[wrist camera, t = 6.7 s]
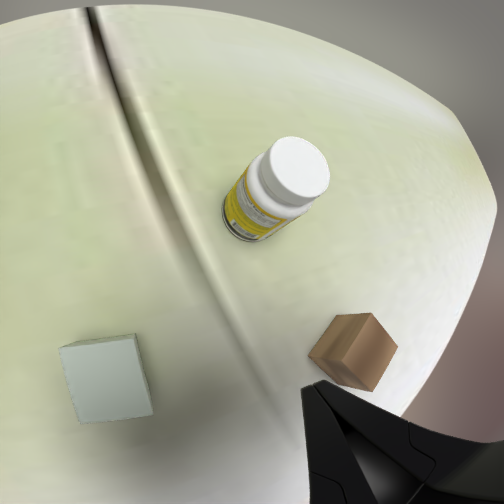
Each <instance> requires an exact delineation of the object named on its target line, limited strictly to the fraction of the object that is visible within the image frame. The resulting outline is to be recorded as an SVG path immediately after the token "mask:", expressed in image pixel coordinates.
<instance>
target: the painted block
mask: <svg viewBox="0 0 504 504" xmlns="http://www.w3.org/2000/svg"><path fill="white" fill-rule="evenodd" d="M59 353H60V357H61V362H62V366H63V370H64V374H65V378H66V381H67V385H68V388H69V392H70V395H71V398H72V402H73V405H74V408H75V411H76V414H77V417H78V419H79V422H80V424H88V423H99V422H108V421H116V420H124V419H131V418H138V417H144V416H150V415H153V408H152V401H151V395H150V391H149V387H148V384H147V380H146V376H145V372H144V368H143V364H142V360H141V356H140V352H139V347H138V343H137V338H136V334H130V335H123V336H116V337H109V338H102V339H94V340H86V341H78V342H74V343H71V344H68V345H65V346H63V347H60V348H59Z"/></svg>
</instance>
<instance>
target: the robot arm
mask: <svg viewBox="0 0 504 504" xmlns="http://www.w3.org/2000/svg"><path fill="white" fill-rule="evenodd" d="M301 399H302V408H303V417H304V427H305V437H306V448H307V459H308V470H309V485H310V503H309V504H504V440H502V441H497V442H491V443H480V442H474V441H469V440H465V439H461V438H457V437H453V436H449V435H445V434H441V433H438V432H435V431H432V430H429V429H426V428H424V427H421V426H419V425H417V424H414V423H412V422H408V421H407V420H405V419H403V418H401V417H399V416H396V415H394V414H392V413H390V412H388V411H386V410H384V409H382V408H379V407H377V406H375V405H373V404H371V403H369V402H367V401H365V400H363V399H361V398H359V397H357V396H355V395H353V394H351V393H349V392H347V391H345V390H344V389H342V388H340V387H338V386H336V385H334V384H332V383H330V382H328V381H327V380H321V381H318V382H316V383H314V384H313V385H308V386H306V387H303V388H301Z"/></svg>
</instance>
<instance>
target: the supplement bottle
mask: <svg viewBox="0 0 504 504" xmlns="http://www.w3.org/2000/svg"><path fill="white" fill-rule="evenodd" d="M329 181H330V171H329V167H328V164H327V162H326V160H325V158H324V156H323V155H322V153H321V152H320V151H319V150H318V149H317V148H316V147H315V146H314V145H312V144H311V143H310V142H308V141H306V140H304V139H301V138H298V137H284V138H281V139H279V140H277V141H276V142H275V143H274V144H273V145H272V146H271V147H270V148H269V149H268V150H267V151H266V152H263V153H261V154H260V155H258V156H257V157H256V158H255V159H253V161H252V162H251V163H250V164H249V166H248V167H247V168H246V170H245V171H244V173H243V174H242V175H241V177H240V178H239V179H238V181H237V182H236V183H235V185H234V186H233V188H232V189H231V190H230V192H229V193H228V195H227V196H226V198H225V200H224V202H223V207H222V214H223V219H224V221H225V224H226V226H227V227H228V229H229V230H230V231H231V232H232V233H233V234H234V235H235V236H237V237H238V238H240V239H243V240H246V241H260V240H263V239H265V238H267V237H269V236H271V235H272V234H274V233H275V232H277V231H278V230H280V229H281V228H282V227H284V226H286V225H287V224H289V223H290V222H292V221H293V220H295V219H296V218H298V217H300V216H301V215H303V214H304V213H306V212H307V211H308V210H309V208H310V207H311V206H312V204H313V202H314V200H315V199H316V198H317V197H319V196H320V195H321V194H323V193H324V192H325V190H326V189H327V187H328V185H329Z"/></svg>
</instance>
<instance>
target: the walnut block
mask: <svg viewBox="0 0 504 504" xmlns="http://www.w3.org/2000/svg"><path fill="white" fill-rule="evenodd" d="M397 348H398V346H397V345H396V343H395V342H394V341H393V339H392V338H391V337H390V336H389V334H388V333H387V332H386V331H385V329H384V328H383V327H382V325H381V324H380V323H379V322H378V320H377V319H376V318H375V317H374V316H373V314H372V313H361V314H348V315H336V316H335V318H334V319H333V321H332V322H331V324H330V325H329V327H328V328H327V330H326V331H325V332H324V334H323V335H322V337H321V338H320V339H319V341H318V342H317V344H316V345H315V346H314V348H313V349H312V351H311V352H310V353H309V355H308V357H310V358H311V359H312V360H313V361H314V362H315V363H316V364H317V365H318V366H319V367H320V368H321V369H322V370H323V371H324V372H325V373H326V374H328V375H329V376H330V377H331V378H332V379H333V380H334V381H335V382H336V383H337V384H339V385H343V386H347V387H351V388H355V389H360V390H364V391H369V392H373V390H374V389H375V387H376V385H377V384H378V382H379V380H380V379H381V377H382V375H383V373H384V372H385V370H386V368H387V366H388V365H389V363H390V361H391V359H392V357H393V355H394V354H395V352H396V350H397Z"/></svg>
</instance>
